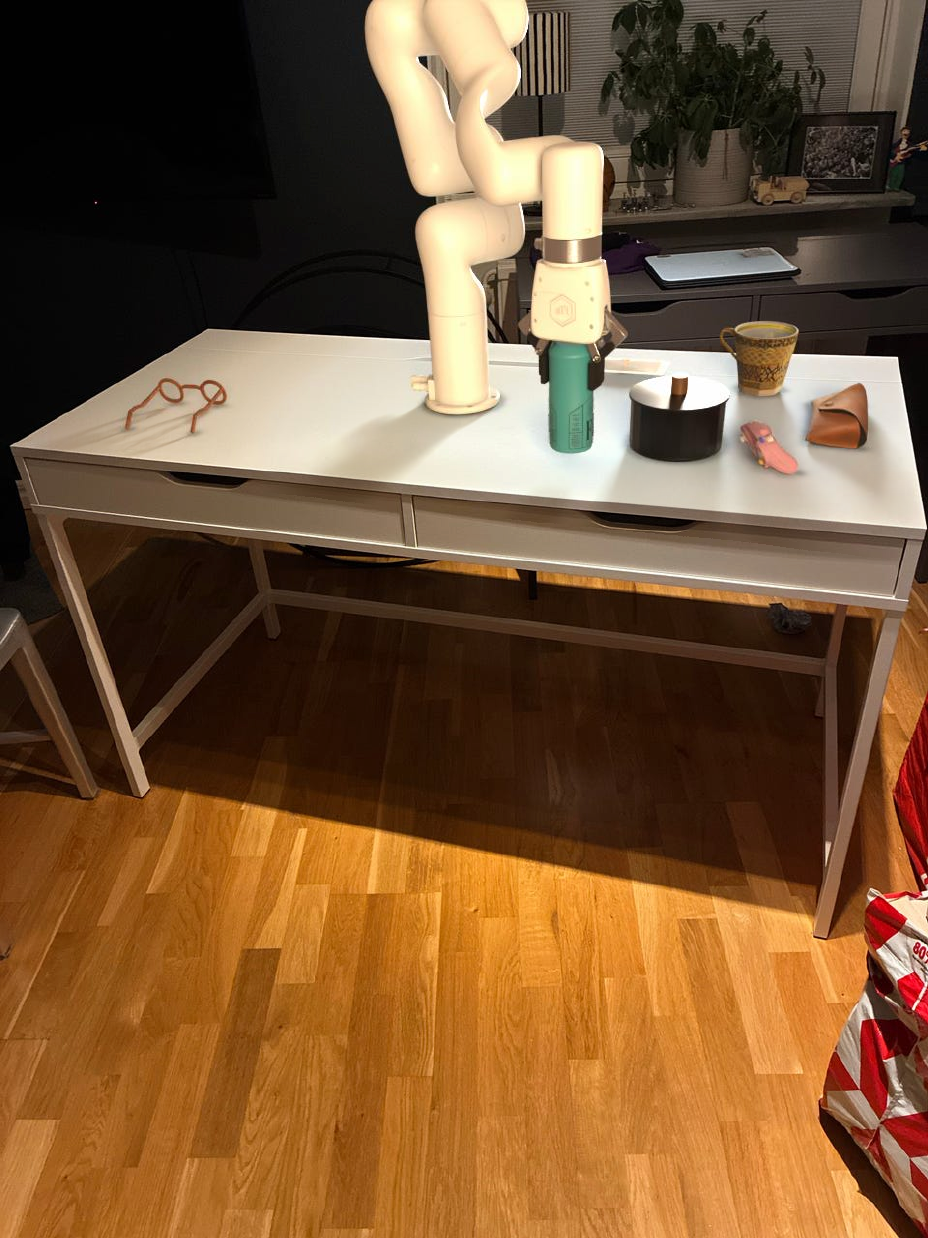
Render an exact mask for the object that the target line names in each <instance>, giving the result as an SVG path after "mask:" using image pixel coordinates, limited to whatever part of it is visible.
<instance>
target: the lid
mask: <svg viewBox="0 0 928 1238" xmlns="http://www.w3.org/2000/svg"><path fill="white" fill-rule="evenodd" d="M730 395H731V394H730V389H728V387H726V385H724V384H722V383H719V382H717V381H714V380H712V379H708V378H703V377H697V376H690V375H689V374H688V373H685V372H675V373H672V374H671V375H670V376H669V375H668V376H659V377H653V378H650V379H649V378H648V379H646V380H642V381H640V382H638V383H636V384H634V385H633V386H631V387H630V389H629V391H628V396H629V399H630V402H631V401H632V402H634V403H635V404H637V405H638V406H641V407H643V408H646V409H650V410H654V411H659V412H667V413H695V412H702V411H707V410H712V409H715V408H718V407H720V406H722V405H724V404H725V403H726V404H727V403H728V401H729V400H730Z"/></svg>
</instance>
